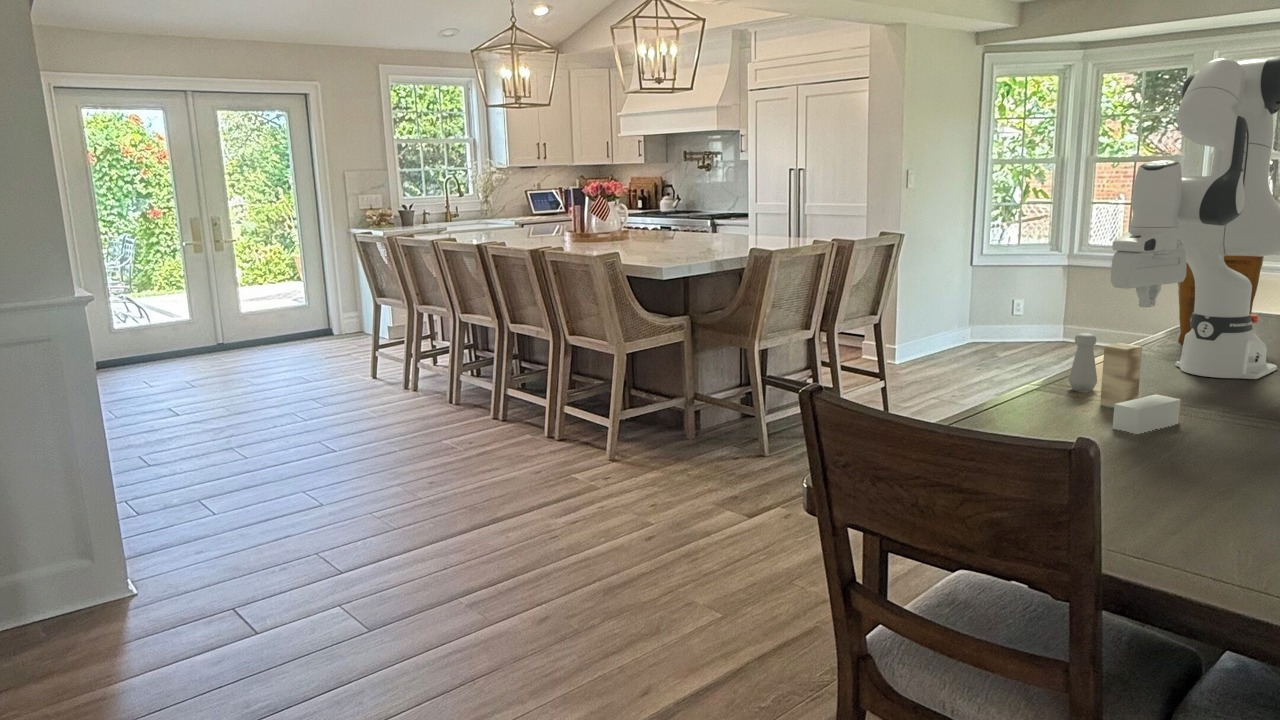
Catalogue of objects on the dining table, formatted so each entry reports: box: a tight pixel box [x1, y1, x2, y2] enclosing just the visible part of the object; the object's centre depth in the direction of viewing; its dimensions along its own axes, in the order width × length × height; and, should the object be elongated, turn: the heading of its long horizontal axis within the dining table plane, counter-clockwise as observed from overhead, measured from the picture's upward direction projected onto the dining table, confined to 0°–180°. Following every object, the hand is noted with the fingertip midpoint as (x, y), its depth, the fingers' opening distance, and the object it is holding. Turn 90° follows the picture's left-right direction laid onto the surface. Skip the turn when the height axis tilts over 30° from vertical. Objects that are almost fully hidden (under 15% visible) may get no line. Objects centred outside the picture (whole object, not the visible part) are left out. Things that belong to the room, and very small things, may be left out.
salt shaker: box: [1068, 332, 1098, 393], centre depth 200 cm, size 6×6×13 cm
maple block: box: [1099, 342, 1143, 410], centre depth 186 cm, size 5×5×13 cm
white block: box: [1112, 393, 1182, 435], centre depth 173 cm, size 5×5×13 cm
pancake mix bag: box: [1177, 256, 1265, 344], centre depth 239 cm, size 7×19×28 cm, turn 53°
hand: (1146, 306), depth 186 cm, fingers closed
